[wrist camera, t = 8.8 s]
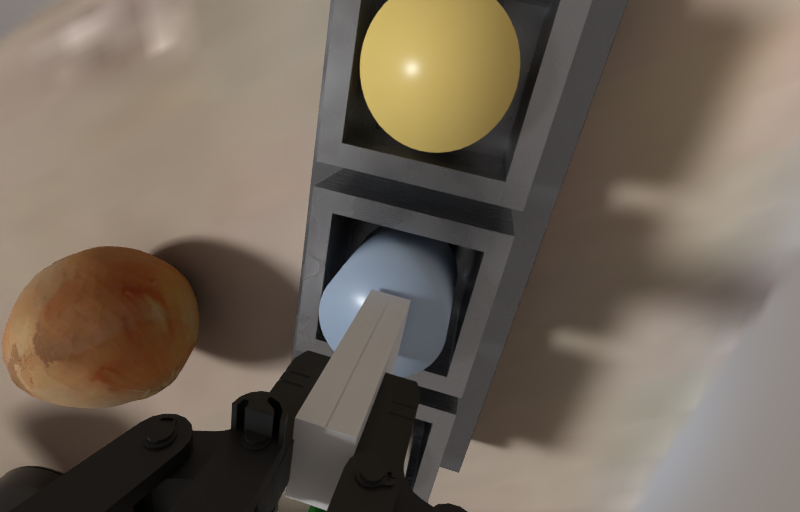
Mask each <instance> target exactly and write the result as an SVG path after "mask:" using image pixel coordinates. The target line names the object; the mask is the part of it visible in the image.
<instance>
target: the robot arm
mask: <svg viewBox="0 0 800 512" xmlns="http://www.w3.org/2000/svg"><path fill="white" fill-rule="evenodd" d="M410 302H411V300H409V299H405V298H401V297H398V296H394V295H391V294H387V293H383V292H380V291H376V290H373V289H372V290H371V291H370V293H369V295H368V296H367V298H366V300H365V301H364V303H363V305H362V306H361V308H360V310H359V311H358V313H357V315H356V316H355V318H354V320H353V321H352V323H351V325H350V326H349V328H348V330H347V332H346V333H345V335H344V337H343V338H342V340H341V342H340V343H339V345H338V347H337V348H336V350H335V352H334V353H333V355H332V357H329V356H326V355H322V354H319V353H316V352H312V351H309V350H307V351H306V352H304V353H302V354H301V355H299V356H297V357H295V358H294V359H293V361H292V362H291V364H290V365H289V366H288V368H287V369H286V372H284V373H283V375H282V376H281V377H280V379H279V381H277V383H276V384H275V386H274V387H273V388H272V390H271V391H270V392H264V391H259V392H250V393H248V394H245V395H243V396H241V397H239V398H238V399H237V400H236V401H234V402H233V403H232V419H231V429H229V430H225V431H192V425H191V423H190V422H189V421H188V420H187V419H186V418H185V417H182V416H179V415H177V414H161V415H157V416H152V417H150V418H148V419H146V420H144V421H142V422H140V423H139V424H137V425H136V426H134V427H133V428H131V429H130V430H128V431H127V432H125V433H124V434H123V435H121V436H120V437H118V438H117V439H115V440H114V441H112V442H111V443H109V444H108V445H106V446H105V447H103V448H102V449H100V450H99V451H97V452H96V453H94V454H93V455H91V456H90V457H88V458H87V459H86V460H84V461H83V462H81V463H80V464H78V465H77V466H75V467H74V468H72V469H71V470H69V471H68V472H66V473H65V474H63V475H62V476H61V475H59V474H56V473H54V472H51V471H48V470H44V469H39V468H33V467H21V468H16V469H13V470H11V471H9V472H8V473H6V474H5V475H4V476H3V477H1V478H0V512H277V510H278V502H279V499H280V497H281V495H282V493H283V491H284V489H285V487H286V485H287V489H286V497H288V498H291V499H294V500H297V501H300V502H303V503H306V504H309V505H312V506H315V507H317V508H320V509H323V510H326V512H467V511H466V510H464V509H463V508H461V507H459V506H456V505H452V504H449V503H448V504H438V505H436V506H434V507H432V506H431V505H430V504H428V503H427V502H425V501H424V500H423V499H421V498H420V497H419V496H418V495H417V494H415V493H414V492H413V490H412V489H411V488H410V486H409V485H408V483H407V481H406V478H405V474H404V462H405V458H406V454H407V449H408V445H409V441H410V437H411V433H412V429H413V425H414V421H415V417H416V413H417V409H418V405H419V401H420V396H421V394H420V391H419V387H418V384H417V382H416V381H413V380H409V379H406V378H403V377H399V376H396V375H393V374H392V372H393V370H394V367H395V364H396V361H397V358H398V353H399V349H400V345H401V341H402V336H403V332H404V328H405V324H406V319H407V315H408V311H409V307H410Z"/></svg>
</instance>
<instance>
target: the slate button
mask: <svg viewBox="0 0 800 512" xmlns="http://www.w3.org/2000/svg"><path fill="white" fill-rule="evenodd" d="M457 276H458V269H457V263H456V259H455V256H454V253H453V251H452V250H451V248H450V246H449V245H448V243H447V242H443V241H439V240H435V239H432V238H428V237H424V236H420V235H416V234H412V233H408V232H404V231H401V230H397V229H393V228H389V227H385V226H380V227H378V228H377V229H375V230H374V231H372V232H371V233H370V234H369V235H368V236H367V237H366V238H365V240H364V241H363V242H362V243H361V245H360V246H359V247H358V248H357V249H356V251H355V252H354V253H353V254H352V256H351V257H350V258H349V259H348V261H347V262H346V263H345V264H344V266H343V267H342V268H341V269H340V271H339V272H338V273H337V274H336V275H335V277H334V278H333V279H332V280H331V282H330V283H329V284H328V285H327V287H326V289H325V290H324V292H323V295H322V297H321V300H320V305H319V321H320V326H321V329H322V332H323V335H324V337H325V339H326V341H327V343H328V344H329V346H330V347H331V349H332V350H333V351H334V352H335V350H336V348H337V347H338V345H339V343H340V342H341V340H342V338H343V337H344V335H345V333H346V332H347V330H348V328H349V326H350V325H351V323H352V321H353V320H354V318H355V316H356V315H357V313H358V311H359V310H360V308H361V306H362V305H363V303H364V301H365V300H366V298H367V296H368V295H369V293H370V291H371V290H372V289H373V290H376V291H380V292H383V293H387V294H391V295H394V296H398V297H401V298H405V299H409V300H411V302H410V307H409V311H408V315H407V319H406V324H405V328H404V332H403V336H402V341H401V345H400V349H399V353H398V358H397V361H396V364H395V367H394V370H393V372H392V374H393V375H396V376H399V377H407V376H411V375H413V374H416V373H418V372H420V371H422V370H424V369H425V368H427V367H428V366H430V365H431V364H432V363H433V362H434V361H435V360H436V358H437V357H438V356H439V354H440V353H441V351H442V349H443V347H444V344H445V341H446V336H447V330H448V325H449V320H450V315H451V309H452V304H453V299H454V293H455V288H456V283H457Z"/></svg>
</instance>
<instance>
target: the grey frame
mask: <svg viewBox="0 0 800 512" xmlns="http://www.w3.org/2000/svg"><path fill="white" fill-rule="evenodd" d="M387 1H388V0H331V4H330V13H329V22H328V31H327V40H326V50H325V59H324V68H323V77H322V86H321V95H320V105H319V114H318V123H317V132H316V141H315V150H314V160H313V169H312V178H311V187H310V196H309V205H308V215H307V224H306V233H305V242H304V251H303V260H302V269H301V279H300V288H299V297H298V306H297V315H296V324H295V334H294V343H293V352H292V361H293V359H294V358H295V357H297V356H299V355H301V354H302V353H304V352H306V351H307V350H309V351H312V352H316V353H319V354H322V355H326V356H329V357H332V355H333V353H334V351H333V350H332V349H331V347H330V346H329V344H328V343H327V341H326V339H325V337H324V335H323V332H322V329H321V326H320V321H319V305H320V300H321V297H322V295H323V292H324V290H325V289H326V287H327V285H328V284H329V283H330V282H331V280H332V279H333V278H334V277H335V275H336V274H337V273H338V272H339V271H340V269H341V268H342V267H343V266H344V264H345V263H346V262H347V261H348V259H349V258H350V257H351V256H352V254H353V253H354V252H355V251H356V249H357V248H358V247H359V246H360V245H361V243H362V242H363V241H364V240H365V238H366V237H367V236H368V235H369V234H370V233H371V232H372V231H374V230H375V229H377V228H378V227H380V226H385V227H389V228H393V229H397V230H401V231H404V232H408V233H412V234H416V235H420V236H424V237H428V238H432V239H435V240H439V241H443V242H447V243H448V245H449V246H450V248H451V250H452V251H453V253H454V256H455V259H456V263H457V269H458V276H457V283H456V288H455V293H454V299H453V304H452V309H451V315H450V320H449V325H448V330H447V336H446V341H445V344H444V347H443V349H442V351H441V353H440V354H439V356H438V357H437V358H436V360H435V361H434V362H433V363H432V364H431V365H430V366H428V367H427V368H425V369H424V370H422V371H420V372H418V373H416V374H413V375H411V376H407V377H403V378H406V379H409V380H413V381H416V382H417V384H418V387H419V391H420V394H421V396H420V401H419V405H418V409H417V413H416V417H415V418H416V419H418V422H417V426H416V431H415V435H414V439H413V444H412V448H411V453H410V457H409V462H408V466H407V470H406V475H405V478H406V481H407V483H408V485H409V486H410V488H411V489H412V490H413V492H414V493H415V494H417V495H418V496H419V497H420V498H421V499H423V500H424V501H425V502H427V503H428V500H429V496H430V493H431V490H432V487H433V484H434V481H435V478H436V475H437V472H438V469H439V467H443V468H446V469H449V470H452V471H455V472H458V473H459V471H460V468H461V465H462V463H463V460H464V457H465V454H466V451H467V449H468V446H469V443H470V440H471V437H472V435H473V432H474V429H475V426H476V423H477V421H478V418H479V415H480V412H481V409H482V407H483V404H484V401H485V398H486V396H487V393H488V390H489V387H490V384H491V382H492V379H493V376H494V373H495V370H496V368H497V365H498V362H499V359H500V356H501V354H502V351H503V348H504V345H505V342H506V340H507V337H508V334H509V331H510V328H511V326H512V323H513V320H514V317H515V314H516V312H517V309H518V306H519V303H520V301H521V298H522V295H523V292H524V289H525V287H526V284H527V281H528V278H529V275H530V273H531V270H532V267H533V264H534V261H535V259H536V256H537V253H538V250H539V247H540V245H541V242H542V239H543V236H544V233H545V231H546V228H547V225H548V222H549V220H550V217H551V214H552V211H553V208H554V206H555V203H556V200H557V197H558V194H559V192H560V189H561V186H562V183H563V180H564V178H565V175H566V172H567V169H568V166H569V164H570V161H571V158H572V155H573V152H574V150H575V147H576V144H577V141H578V138H579V136H580V133H581V130H582V127H583V125H584V122H585V119H586V116H587V113H588V111H589V108H590V105H591V102H592V99H593V97H594V94H595V91H596V88H597V85H598V83H599V80H600V77H601V74H602V71H603V69H604V66H605V63H606V60H607V57H608V55H609V52H610V49H611V46H612V43H613V41H614V38H615V35H616V32H617V30H618V27H619V24H620V21H621V18H622V16H623V13H624V10H625V7H626V4H627V2H628V0H497V1H498V3H499V4H500V5H501V6H502V7H503V8H504V10H505V12H506V13H507V15H508V16H509V18H510V20H511V22H512V25H513V27H514V29H515V32H516V36H517V39H518V44H519V50H520V73H519V80H518V84H517V88H516V91H515V94H514V97H513V100H512V102H511V104H510V106H509V108H508V110H507V111H506V113H505V114H504V116H503V117H502V119H501V120H500V121H499V122H498V124H497V125H496V126H495V127H494V128H493V129H492V130H491V131H490V132H489V133H488V134H487V135H485V136H484V137H482V138H481V139H480V140H478V141H476V142H475V143H473V144H471V145H469V146H467V147H464V148H461V149H459V150H454V151H450V152H441V153H434V152H425V151H419V150H416V149H413V148H410V147H408V146H406V145H404V144H402V143H400V142H398V141H397V140H395V139H394V138H393V137H391V136H390V135H389V134H388V133H386V131H385V130H384V129H383V128H382V127H381V126H380V125H379V124H378V122H377V121H376V120H375V118H374V117H373V115H372V113H371V111H370V110H369V108H368V105H367V103H366V100H365V98H364V94H363V90H362V86H361V79H360V57H361V51H362V46H363V42H364V39H365V36H366V33H367V31H368V28H369V26H370V24H371V22H372V20H373V19H374V17H375V16H376V14H377V12H378V11H379V10H380V9H381V8H382V6H383V5H384V4H385V3H386V2H387ZM292 361H291V362H292Z"/></svg>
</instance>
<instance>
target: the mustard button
mask: <svg viewBox="0 0 800 512" xmlns="http://www.w3.org/2000/svg"><path fill="white" fill-rule="evenodd" d="M519 73H520V50H519V44H518V39H517V36H516V32H515V29H514V27H513V25H512V22H511V20H510V18H509V16H508V15H507V13H506V12H505V10H504V8H503V7H502V6H501V5H500V4H499V3H498V1H497V0H388V1H387V2H386V3H385V4H384V5H383V6H382V8H381V9H380V10H379V11H378V12H377V14H376V16H375V17H374V19H373V20H372V22H371V24H370V26H369V28H368V31H367V33H366V36H365V39H364V42H363V46H362V51H361V57H360V79H361V86H362V90H363V94H364V98H365V100H366V103H367V105H368V108H369V110H370V111H371V113H372V115H373V117H374V118H375V120H376V121H377V122H378V124H379V125H380V126H381V127H382V128H383V129H384V130H385V131H386V133H388V134H389V135H390V136H391V137H393V138H394V139H395V140H397V141H398V142H400V143H402V144H404V145H406V146H408V147H410V148H413V149H416V150H419V151H425V152H434V153H441V152H450V151H454V150H459V149H461V148H464V147H467V146H469V145H471V144H473V143H475V142H476V141H478V140H480V139H481V138H482V137H484V136H485V135H487V134H488V133H489V132H490V131H491V130H492V129H493V128H494V127H495V126H496V125H497V124H498V122H499V121H500V120H501V119H502V117H503V116H504V114H505V113H506V111H507V110H508V108H509V106H510V104H511V102H512V100H513V97H514V94H515V91H516V88H517V84H518V80H519Z"/></svg>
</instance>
